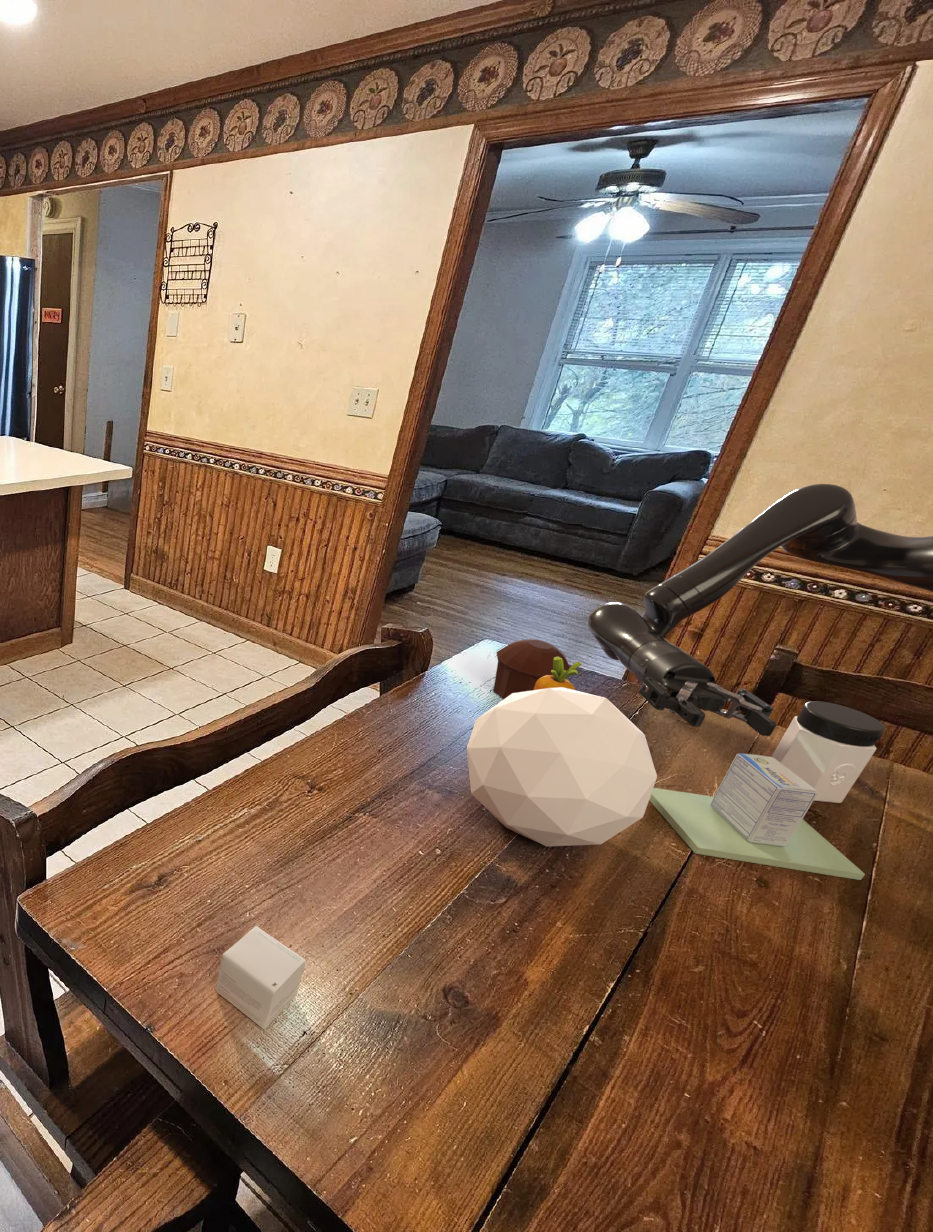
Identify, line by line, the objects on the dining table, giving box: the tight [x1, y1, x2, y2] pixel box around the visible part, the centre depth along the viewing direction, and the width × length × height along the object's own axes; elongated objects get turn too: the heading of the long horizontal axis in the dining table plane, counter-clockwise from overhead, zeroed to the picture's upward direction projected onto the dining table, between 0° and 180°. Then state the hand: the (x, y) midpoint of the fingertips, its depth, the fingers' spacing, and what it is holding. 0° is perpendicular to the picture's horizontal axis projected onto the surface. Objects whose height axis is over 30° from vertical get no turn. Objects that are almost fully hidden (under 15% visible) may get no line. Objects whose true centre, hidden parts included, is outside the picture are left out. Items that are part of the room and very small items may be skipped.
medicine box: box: [710, 753, 818, 847], centre depth 92 cm, size 8×4×9 cm, turn 171°
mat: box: [649, 787, 866, 881], centre depth 94 cm, size 18×13×1 cm
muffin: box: [492, 638, 571, 700], centre depth 123 cm, size 12×11×10 cm
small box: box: [214, 925, 307, 1030], centre depth 66 cm, size 6×6×5 cm
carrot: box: [533, 657, 583, 690], centre depth 108 cm, size 5×5×15 cm
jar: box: [770, 700, 886, 804], centre depth 102 cm, size 9×8×12 cm
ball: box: [466, 687, 658, 847], centre depth 89 cm, size 19×20×20 cm
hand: (734, 725), depth 98 cm, fingers open, 8 cm apart
